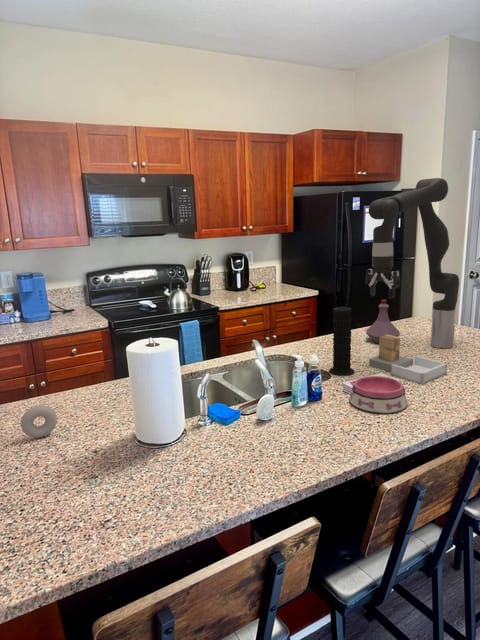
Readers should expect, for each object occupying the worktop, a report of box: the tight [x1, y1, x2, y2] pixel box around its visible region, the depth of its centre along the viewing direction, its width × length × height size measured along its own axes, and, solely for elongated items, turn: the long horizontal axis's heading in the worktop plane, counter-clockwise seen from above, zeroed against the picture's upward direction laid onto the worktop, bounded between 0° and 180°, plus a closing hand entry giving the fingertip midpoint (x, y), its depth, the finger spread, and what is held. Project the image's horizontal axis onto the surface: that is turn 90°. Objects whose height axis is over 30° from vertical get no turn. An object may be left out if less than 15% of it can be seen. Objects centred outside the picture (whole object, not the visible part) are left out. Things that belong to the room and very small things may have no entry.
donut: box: [20, 404, 58, 439], centre depth 132 cm, size 10×4×10 cm, turn 122°
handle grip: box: [328, 306, 356, 377], centre depth 172 cm, size 10×26×10 cm
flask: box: [365, 299, 401, 344], centre depth 210 cm, size 16×16×20 cm
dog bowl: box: [348, 375, 409, 415], centre depth 146 cm, size 18×19×7 cm
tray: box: [390, 355, 448, 385], centre depth 168 cm, size 16×13×4 cm
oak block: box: [378, 335, 401, 362], centre depth 178 cm, size 5×6×9 cm
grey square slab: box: [368, 355, 414, 373], centre depth 178 cm, size 12×12×3 cm
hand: (382, 297), depth 169 cm, fingers open, 8 cm apart
